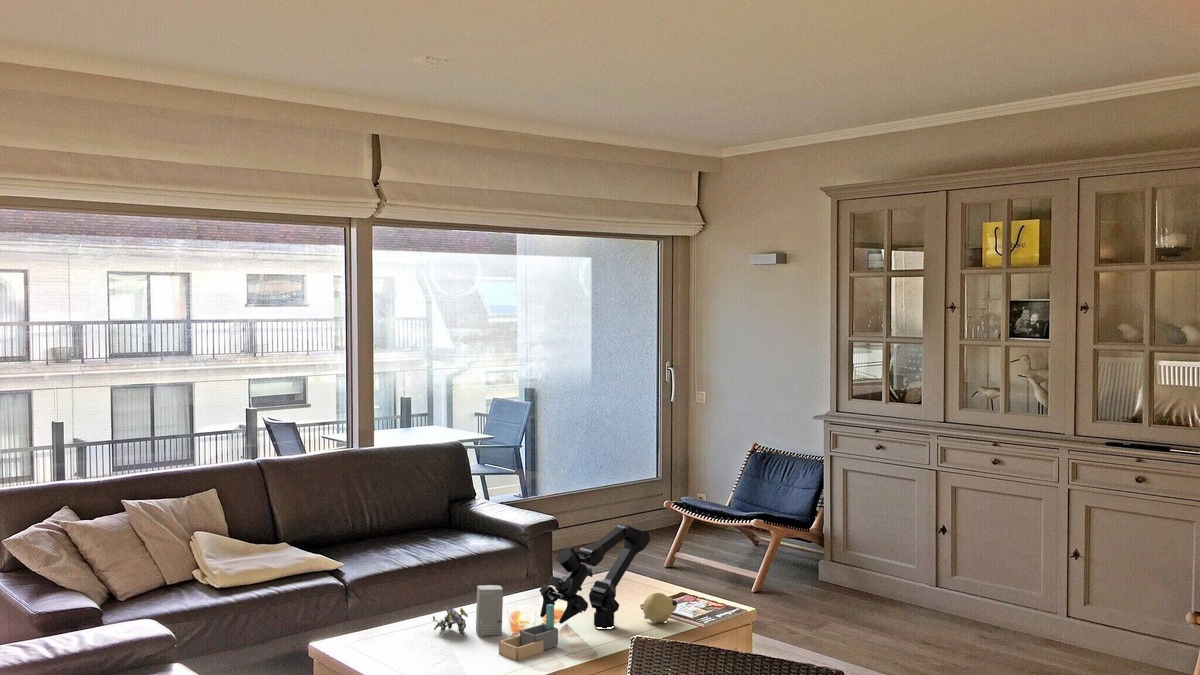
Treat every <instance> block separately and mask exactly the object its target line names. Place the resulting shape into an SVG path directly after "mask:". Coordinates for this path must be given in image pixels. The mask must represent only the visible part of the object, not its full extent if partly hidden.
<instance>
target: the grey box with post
mask: <svg viewBox="0 0 1200 675" xmlns="http://www.w3.org/2000/svg"><path fill="white" fill-rule="evenodd" d="M545 617H546V618H545V623H541V624H538V625H534V626H532V627H529V628H528V627H527V628H524V629H520V630H519V635H520V647H521V646H524V645H527V644H530V643H534V642H537V641H540V640H544V641H543V651H546V650H548V649H553V648H555V647H558V646H559V628H557V627H555V605H552V604H548V605H546V615H545Z"/></svg>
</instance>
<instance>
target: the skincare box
mask: <svg viewBox="0 0 1200 675" xmlns="http://www.w3.org/2000/svg"><path fill="white" fill-rule="evenodd" d="M503 601H504V588H503V587H502V586H501V584H500V585H499V584H498V585H497V584H496V585H492V584H487V585H477V586H476V610H475V611H476V612H475V613H476V614H475V616H476V617H475V618H476V619H475V632H476V633H477V635H478V638H479V637H481V638H482V637H491V636H501V635H502V632H503V631H502V630H503V628H502V627H503V605H504V603H503Z"/></svg>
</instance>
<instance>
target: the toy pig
mask: <svg viewBox="0 0 1200 675" xmlns="http://www.w3.org/2000/svg"><path fill="white" fill-rule="evenodd" d="M677 606H678V602H677V601H676V600H674V599H673V597H671V596H668V595H666V594H664V593H662V592H654V593H652V594H650V595H648V596H647V598H645V600H644V602H643V605H642V610H643V614H644V616H643V618H644V620H650V621H651V622H653V623H655V624H656V623H663V622H665V621H667V622H668V620H669V619H670V617H671V615H672V614H673V613H674V612H675V611H676V610H677Z"/></svg>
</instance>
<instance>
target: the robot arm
mask: <svg viewBox="0 0 1200 675" xmlns="http://www.w3.org/2000/svg"><path fill="white" fill-rule="evenodd" d="M622 541H623V548H622V549H621V550H620V553H619V554H618V556H617V557H616V559H615V561H614V562H613V564H612V566H611V567H610V569H609V571H608V573H607V574H606V575H605V577H604V579H603V580H601V581H600V580H596V581H595V582H594V583H593V586H592V587H591V588H590V592H589V593H588V599H589V602H590V606H591V608H592V609H595V612H594V613H593V625H594V627H595V626H596V627H602V628H607V627H612V626H614V627H615V613H616V612H618V611H619V607H620V604H619V603H618V601H617V600H616V599H615V598H616V595H617V586H618V584H619V583H620V581H621V580H622V578H623V577H624V575H625V573H626V572H627V569H629V567H630V565H631V563H632V562H633V560H634V558H635V557H636V555H637V554H639V553H640V552H642V551H644V550H645V548H646V547H647V546H648V545H649V543H650V541H651V536H650V532H649V531H648V530H646V529H642V528H637V527H632V526H630V525H628V524H623V523H619V524H617V525H616V527H615V528H613V529H612V530H611V531H609V532H608V533H606V534H605V535H604V536H603V537H601V538H600V539H599V540H597V541H596V542H593V543H589V544H586V545H584V546H582V547H580V548H579V550H578V551H577V550H575V549H574V547H572V546H567V547H566V548H564V549H562V550H561V551H560V552H558V554H557V555H556V558H555V559H556V561H557V563H558V564H559V566H561V567H562V569H563V570H564V571H565V572H567V573H568V574H567V576H562V578H560V577H556V576H553V575H550V578H549V581H548V585H545V584H544V585H542V586H541V587H540V589H539V592H540V595H541V596H542V606H541V610H540V613H539V614H540V617H541V618H544V617H546V605H548V604H552V605H554V606H555V605H556V602H557V601H558V600H560V601H564V602H567V603H566V608H565V609H564V611H563V613H562V615H561V617H560V618H559V621H558V622H559V624H560V625H562V624H563V623H565V622H567V621H568V620H569V619H571V618H573V617H575V616H576V615H578V614H581V613H582V612H586V611H587V610H588V608H589V602H588V601H587V600H586V599H585V598H584V597H583V596H582V595H580V594H578V592H582V590H583V588H582V585H583V583H584V582H585V580H586V578H587V577H591V578H593V572H592V568H590V567H588V566H591V567H596V566H598V565H599V564H600V563H601V562H602V561H603V560H604V557H605V555H606V553H608V552H609V551H610V550H612V549H613V548H614V547H615V546H617V545H618V544H619V543H620V542H622ZM586 565H587V566H586ZM553 587H554V588H553ZM596 627H595V628H596Z"/></svg>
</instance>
